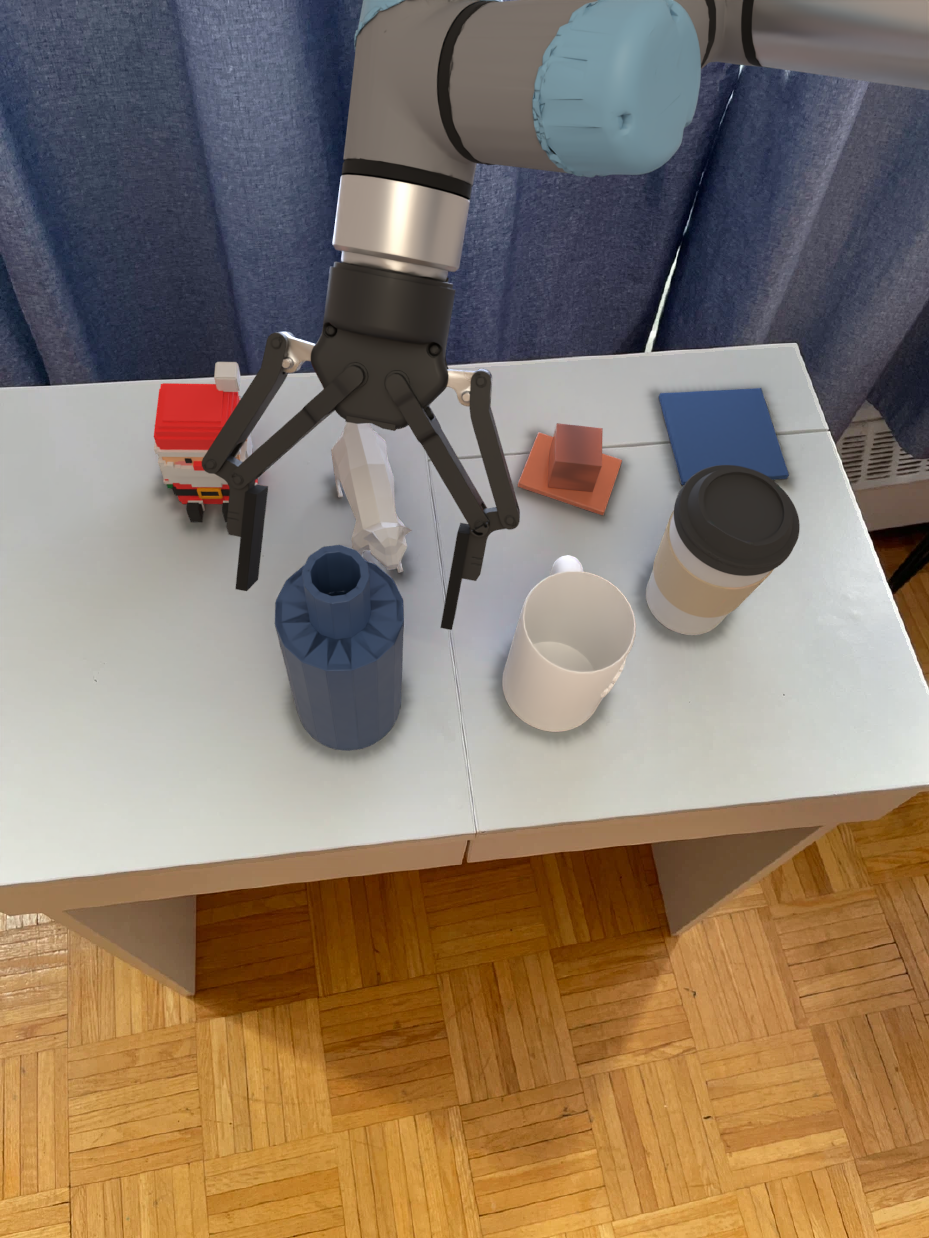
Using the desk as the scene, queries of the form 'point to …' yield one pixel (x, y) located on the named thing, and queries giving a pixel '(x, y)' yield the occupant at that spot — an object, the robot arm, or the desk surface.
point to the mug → (567, 647)
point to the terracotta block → (575, 457)
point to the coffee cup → (719, 546)
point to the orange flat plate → (594, 501)
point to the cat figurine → (370, 493)
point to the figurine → (196, 437)
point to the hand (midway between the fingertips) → (347, 604)
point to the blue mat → (722, 431)
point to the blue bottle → (342, 647)
